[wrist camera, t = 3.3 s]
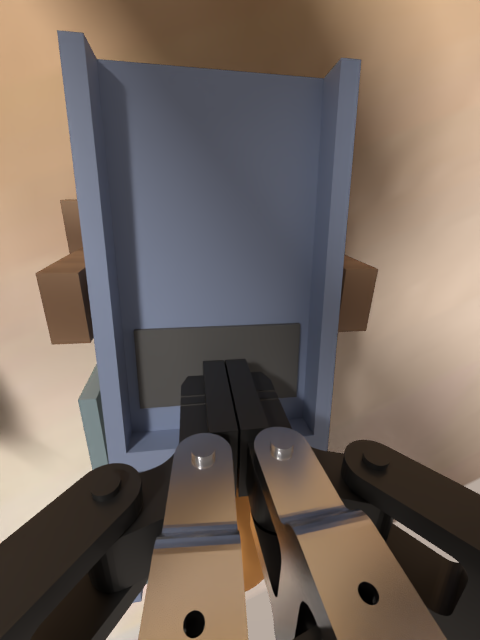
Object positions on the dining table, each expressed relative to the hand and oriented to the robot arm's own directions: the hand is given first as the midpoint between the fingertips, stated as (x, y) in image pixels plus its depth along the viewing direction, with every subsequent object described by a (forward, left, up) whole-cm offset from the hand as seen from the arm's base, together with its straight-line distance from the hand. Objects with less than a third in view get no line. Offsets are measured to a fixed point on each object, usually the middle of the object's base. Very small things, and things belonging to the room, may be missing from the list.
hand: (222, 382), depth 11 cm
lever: (0, 0, -2) cm, 2 cm away
